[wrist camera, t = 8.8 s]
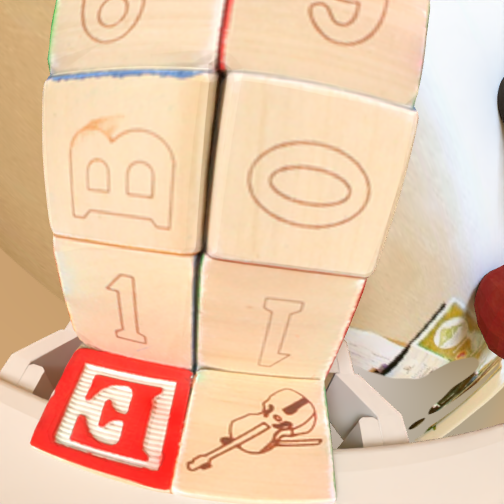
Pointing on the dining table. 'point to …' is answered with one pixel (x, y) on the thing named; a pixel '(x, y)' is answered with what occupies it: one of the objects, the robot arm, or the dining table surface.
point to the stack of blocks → (218, 229)
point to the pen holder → (501, 99)
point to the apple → (491, 310)
